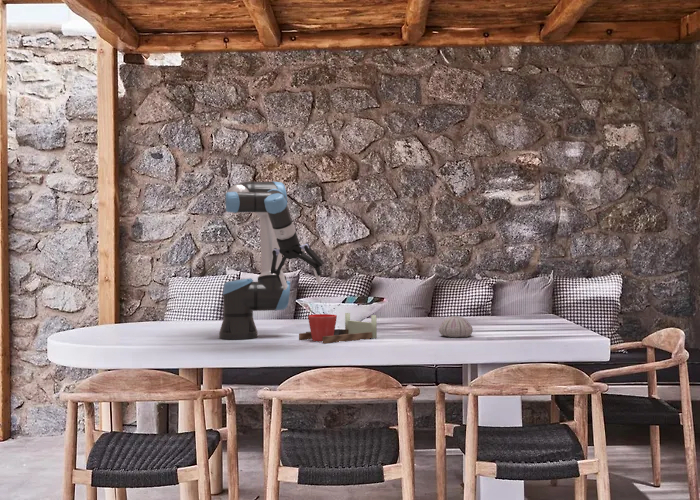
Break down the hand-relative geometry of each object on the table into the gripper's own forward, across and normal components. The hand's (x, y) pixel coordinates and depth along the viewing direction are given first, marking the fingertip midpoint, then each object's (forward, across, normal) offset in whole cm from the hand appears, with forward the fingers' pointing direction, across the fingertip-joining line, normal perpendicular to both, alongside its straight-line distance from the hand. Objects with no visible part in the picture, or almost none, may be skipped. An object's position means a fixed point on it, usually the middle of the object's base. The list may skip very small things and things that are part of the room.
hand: (302, 285), depth 294 cm
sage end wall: (+32, +12, +11) cm, 36 cm away
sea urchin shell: (+41, +48, +17) cm, 66 cm away
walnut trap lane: (+27, +4, +4) cm, 28 cm away
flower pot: (+24, +1, -2) cm, 24 cm away
